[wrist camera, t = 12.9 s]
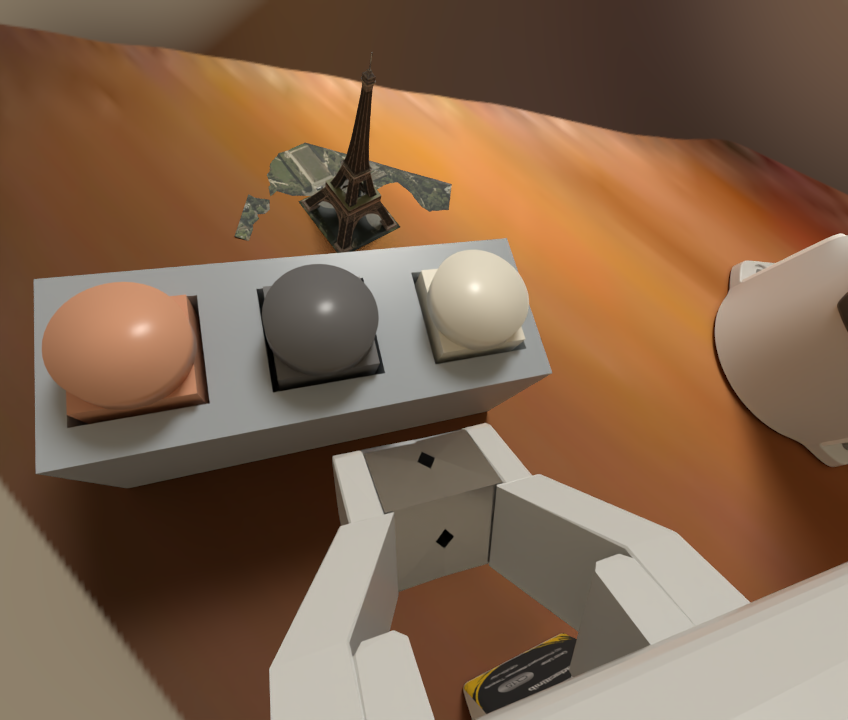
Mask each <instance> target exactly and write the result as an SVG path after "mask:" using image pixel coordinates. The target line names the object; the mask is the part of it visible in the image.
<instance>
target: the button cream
mask: <svg viewBox="0 0 848 720" xmlns="http://www.w3.org/2000/svg"><path fill="white" fill-rule="evenodd" d="M415 289H416V293H417V297H418V300H419V304H420V308H421V312H422V315H423V319H424V323H425V327H426V330H427V334H428V338H429V342H430V345H431V349H432V353H433V357H434V361H435V364H441V363H447V362H452V361H458V360H464V359H470V358H476V357H481V356H487V355H493V354H499V353H505V352H510V351H512V350H513V349H514V348H515V347H517V346H518V345H519V344H520V343H522V342H523V341H524V340H525V336H524V333H523V330H522V327H521V326H522V325H523V323H524V321H525V319H526V317H527V314H528V309H529V297H528V292H527V288H526V286H525V283H524V281H523V279H522V278H521V276H520V275H519V273H518V272H517V271H516V270H515V268H514V267H513V266H512V265H510V264H509V263H508V262H507V261H505V260H504V259H502V258H501V257H499V256H497V255H495V254H493V253H490V252H487V251H482V250H464V251H460V252H457V253H455V254H453V255H451V256H449V257H448V258H447V259H446V260H444V261H443V263H442V264H441V265H440V266H439V268H438V269H429V270H421V272H420V274H419V276H418V279H417V281H416V283H415Z"/></svg>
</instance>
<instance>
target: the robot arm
mask: <svg viewBox="0 0 848 720" xmlns="http://www.w3.org/2000/svg"><path fill="white" fill-rule="evenodd" d="M715 341H716V348H717V352H718V356H719V359H720V362H721V365H722V368H723V370H724V373H725V375H726V377H727V379H728V381H729V382H730V384H731V386H732V388H733V389H734V391H735V392H736V394H737V395H738V397H739V398H740V399H741V401H742V402H743V403H744V404H745V405H746V407H747V408H748V409H749V410H750V411H751V412H752V413H753V414H754V415H755V416H756V417H757V418H758V419H760V420H761V421H762V422H763V423H765V424H766V425H767V426H769V427H770V428H772V429H773V430H775V431H777V432H778V433H780V434H782V435H784V436H787V437H789V438H791V439H793V440H796V441H798V442H799V443H801V444H803V445H804V446H805V447H806V448H807V449H808V450H810V451H811V452H812V453H813V454H814V455H815V456H816V457H817V458H818V459H819V460H821V461H822V462H823V463H825V464H826V465H828V466H830V467H837V466H842V465H846V464H848V235H847V236H846V235H844V234H837V235H834V236H831V237H829V238H827V239H825V240H823V241H820V242H818V243H816V244H814V245H812V246H810V247H808V248H806V249H804V250H802V251H800V252H798V253H796V254H794V255H792V256H789V257H787V258H785V259H783V260H781V261H779V262H777V263H767V262H758V261H743V262H741V263H739V264H737V265H735V266H733V268H732V270H731V275H730V290H729V292H728V294H727V296H726V298H725V299H724V301H723V302H722V304H721V306H720V308H719V310H718V313H717V317H716V322H715ZM332 464H333V472H334V481H335V489H336V497H337V505H338V511H339V518H340V524H341V526H340V527H339V529H338V531H337V533H336V535H335V537H334V539H333V542H332V544H331V546H330V548H329V550H328V552H327V554H326V556H325V558H324V560H323V562H322V564H321V566H320V568H319V570H318V572H317V574H316V576H315V578H314V580H313V582H312V584H311V586H310V588H309V590H308V592H307V594H306V596H305V598H304V600H303V602H302V604H301V606H300V608H299V610H298V612H297V614H296V616H295V618H294V620H293V622H292V624H291V626H290V628H289V630H288V632H287V634H286V636H285V638H284V641H283V643H282V645H281V647H280V649H279V651H278V653H277V655H276V657H275V659H274V661H273V663H272V665H271V667H270V669H269V672H270V706H271V720H434V717H433V713H432V710H431V707H430V704H429V701H428V698H427V695H426V692H425V689H424V685H423V682H422V679H421V676H420V673H419V670H418V667H417V664H416V661H415V658H414V654H413V651H412V648H411V645H410V642H409V639H408V636H406V635H403V634H401V633H399V632H396V631H394V630H393V631H390V627H391V623H392V619H393V615H394V611H395V607H396V603H397V599H398V592H399V591H402V590H405V589H408V588H411V587H413V586H416V585H419V584H422V583H425V582H428V581H431V580H434V579H436V578H439V577H442V576H446V575H449V574H453V573H456V572H460V571H463V570H467V569H470V568H474V567H477V566H481V565H484V564H488V563H489V566H490V567H492V568H493V569H494V570H496V571H497V572H498V573H500V574H501V575H502V576H504V577H505V578H506V579H508V580H509V581H511V582H512V583H513V584H515V585H516V586H517V587H519V588H520V589H521V590H523V591H524V592H525V593H527V594H528V595H529V596H531V597H532V598H534V599H535V600H536V601H538V602H539V603H540V604H542V605H543V606H544V607H546V608H547V609H548V610H550V611H551V612H552V613H554V614H555V615H557V616H558V617H559V618H561V619H562V620H563V621H565V622H566V623H567V624H569V625H570V626H571V627H573V628H574V629H575V630H577V631H578V636H577V640H576V644H575V648H574V652H573V656H572V660H571V664H570V668H569V671H570V673H571V675H572V677H573V678H571V679H568V680H566V681H564V682H561V683H559V684H557V685H554V686H552V687H550V688H547V689H545V690H542V691H540V692H538V693H535V694H533V695H531V696H528V697H526V698H524V699H521V700H519V701H516V702H514V703H512V704H509V705H507V706H505V707H502V708H500V709H497V710H495V711H493V712H490V713H488V714H486V715H483V716H481V717H479V718H476V719H474V720H848V562H846V563H843V564H841V565H839V566H836V567H834V568H832V569H829V570H827V571H824V572H822V573H820V574H817V575H815V576H813V577H810V578H808V579H805V580H803V581H801V582H798V583H796V584H794V585H791V586H789V587H786V588H784V589H782V590H779V591H777V592H775V593H772V594H770V595H768V596H765V597H763V598H760V599H758V600H756V601H753V602H751V603H750V602H749V601H748V600H747V599H746V598H745V597H744V596H743V595H742V594H741V593H740V592H739V591H738V590H737V589H735V588H734V587H733V586H732V585H731V584H730V583H729V582H728V581H727V580H726V579H725V578H724V577H723V576H722V575H721V574H720V573H719V572H718V571H717V570H715V569H714V568H713V567H712V566H711V565H710V564H709V563H708V562H707V561H706V560H705V559H704V558H703V557H702V556H701V555H700V554H699V553H698V552H697V551H695V550H694V549H693V548H692V547H691V546H690V545H689V544H688V543H687V542H686V541H685V540H684V539H683V538H682V537H681V536H680V535H679V534H678V533H676V532H674V531H672V530H670V529H667V528H665V527H662V526H660V525H658V524H655V523H653V522H651V521H648V520H646V519H644V518H641V517H639V516H637V515H634V514H632V513H630V512H627V511H625V510H623V509H620V508H618V507H616V506H613V505H611V504H609V503H606V502H604V501H602V500H599V499H597V498H595V497H592V496H590V495H588V494H585V493H583V492H580V491H578V490H576V489H573V488H571V487H569V486H566V485H564V484H562V483H559V482H557V481H555V480H552V479H550V478H548V477H545V476H543V475H541V474H538V475H534V476H532V475H531V474H530V472H529V471H528V470H527V469H526V468H525V466H524V465H523V464H522V463H521V461H520V460H519V459H518V458H517V457H516V455H515V454H514V453H513V452H512V451H511V449H510V448H509V447H508V446H507V445H506V443H505V442H504V441H503V440H502V439H501V437H500V436H499V435H498V434H497V432H496V431H495V430H494V429H493V428H492V426H491V425H489V424H487V423H483V424H479V425H475V426H471V427H467V428H462V429H461V430H457V431H452V432H448V433H443V434H439V435H434V436H430V437H425V438H421V439H416V440H410V441H405V442H400V443H395V444H390V445H384V446H379V447H374V448H369V449H364V450H361V451H355V452H350V453H345V454H340V455H335V456H333V457H332ZM389 631H390V632H389Z"/></svg>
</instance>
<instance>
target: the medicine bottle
mask: <svg viewBox="0 0 848 720" xmlns="http://www.w3.org/2000/svg"><path fill="white" fill-rule="evenodd" d="M576 640H577V639H575V638H573V637H570V636H568V635H566V634H564V633H563V634H559V635H557V636H555V637H553V638H551V639H549V640H547V641H545V642H543V643H541V644H539V645H538V646H536V647H534V648H532V649H530V650H528V651H526V652H524V653H522V654H520V655H518V656H516V657H514V658H512V659H511V660H509V661H507V662H505V663H503V664H501V665H499V666H497V667H495V668H493V669H491V670H489V671H487V672H485V673H484V674H482V675H480V676H478V677H476V678H474V679H472V680H470V681H468V682H466V683H465V684H464V687H463V691H464V695H465V698H466V702H467V705H468V708H469V711H470V715H471V718H472V720H474V719H476V718H479V717H481V716H483V715H486V714H488V713H490V712H493V711H495V710H497V709H500V708H502V707H505V706H507V705H509V704H512V703H514V702H516V701H519V700H521V699H524V698H526V697H528V696H531V695H533V694H535V693H538V692H540V691H542V690H545V689H547V688H550V687H552V686H554V685H557V684H559V683H561V682H564V681H566V680H568V679H571V678H573V677H572V675H571V673H570V671H569V668H570V664H571V660H572V656H573V652H574V648H575V644H576Z"/></svg>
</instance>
